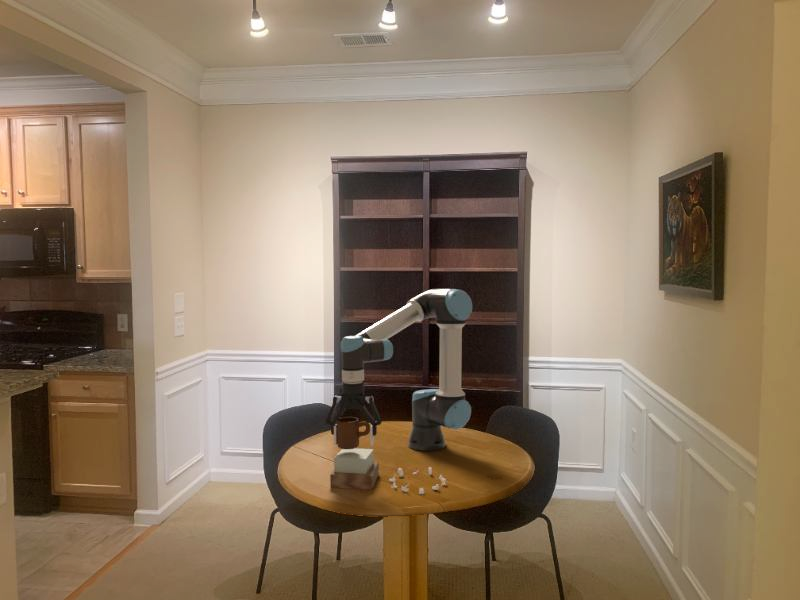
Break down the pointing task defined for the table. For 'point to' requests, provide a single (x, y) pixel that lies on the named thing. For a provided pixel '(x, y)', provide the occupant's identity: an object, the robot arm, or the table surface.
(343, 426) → the mug
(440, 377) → the robot arm
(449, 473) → the table surface
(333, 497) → the table surface
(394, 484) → the game piece set
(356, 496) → the table surface
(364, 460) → the top block
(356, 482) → the base block
